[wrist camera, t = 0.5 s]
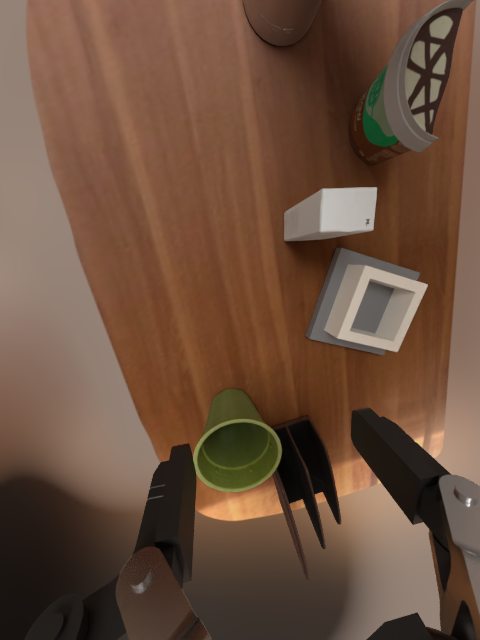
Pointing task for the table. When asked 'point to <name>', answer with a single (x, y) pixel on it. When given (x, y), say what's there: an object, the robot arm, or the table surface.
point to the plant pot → (236, 445)
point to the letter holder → (304, 477)
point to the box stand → (365, 303)
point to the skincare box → (331, 214)
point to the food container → (408, 89)
